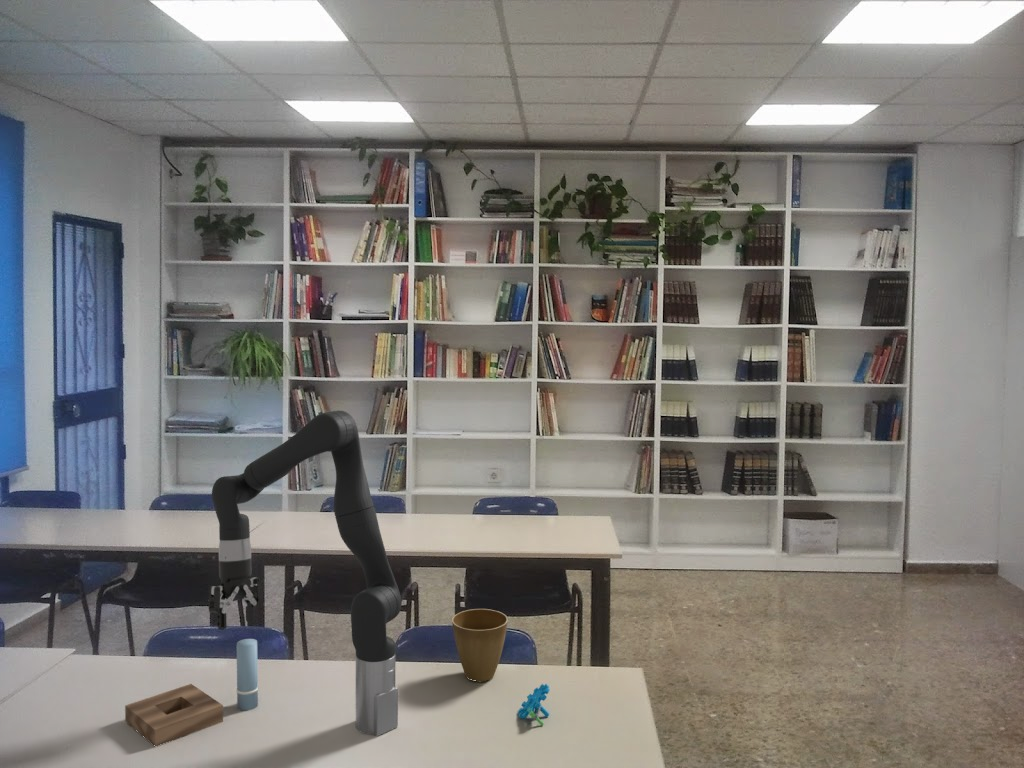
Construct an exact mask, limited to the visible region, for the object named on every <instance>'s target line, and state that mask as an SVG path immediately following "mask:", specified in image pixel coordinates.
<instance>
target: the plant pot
mask: <svg viewBox="0 0 1024 768" xmlns="http://www.w3.org/2000/svg"><path fill="white" fill-rule="evenodd" d="M451 621H452V630H453V636H454V637H453V638H454V641H455V647H456V649H457V654H458V657H459V661H460V664H461V666H462V669H463V673H464V674H465V677H466V676H467V677H468V678H469V679H472V680H476V681H485V682H487V681H486V680H489V679H491V680H492V679H493V678H494V677H495V674H496V672H497V671H496V670H497V669H498V667H499V662H500V659H501V656H502V652H503V648H504V645H505V639H506V635H507V627H508V616H507V615H506V614H504V613H503V612H501V611H498V610H493V609H488V608H473V609H467V610H463V611H460V612H458V613H456V614H454V616H452V618H451ZM467 677H466V678H467ZM469 679H468V680H469ZM489 681H490V680H489Z"/></svg>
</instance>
